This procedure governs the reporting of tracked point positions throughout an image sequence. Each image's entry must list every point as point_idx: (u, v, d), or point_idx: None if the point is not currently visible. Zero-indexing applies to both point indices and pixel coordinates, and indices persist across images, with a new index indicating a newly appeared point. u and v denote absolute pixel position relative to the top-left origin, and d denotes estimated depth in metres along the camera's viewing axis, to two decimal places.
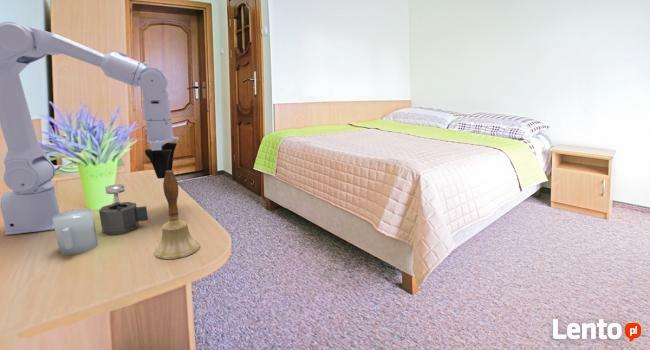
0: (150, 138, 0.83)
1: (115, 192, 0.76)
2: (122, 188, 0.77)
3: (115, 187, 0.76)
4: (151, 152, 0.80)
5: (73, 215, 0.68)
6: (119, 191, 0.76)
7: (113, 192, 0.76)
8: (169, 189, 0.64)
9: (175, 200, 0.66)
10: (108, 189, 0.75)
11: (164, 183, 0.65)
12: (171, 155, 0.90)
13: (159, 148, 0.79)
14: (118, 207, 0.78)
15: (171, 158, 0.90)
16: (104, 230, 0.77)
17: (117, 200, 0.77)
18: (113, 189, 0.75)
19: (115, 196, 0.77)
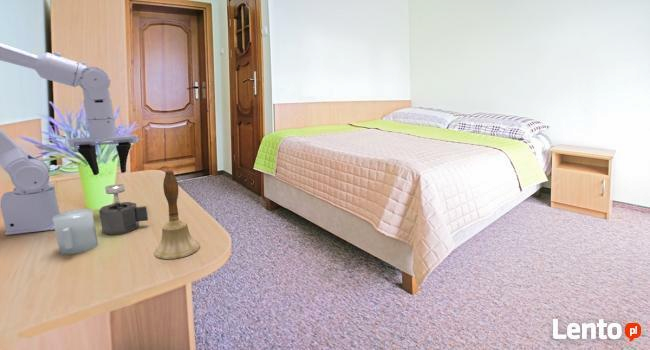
0: None
1: (115, 192, 0.76)
2: (122, 188, 0.77)
3: (115, 187, 0.76)
4: None
5: (73, 215, 0.68)
6: (119, 191, 0.76)
7: (113, 192, 0.76)
8: (169, 189, 0.64)
9: (175, 200, 0.66)
10: (108, 189, 0.75)
11: (164, 183, 0.65)
12: None
13: None
14: (118, 207, 0.78)
15: None
16: (104, 230, 0.77)
17: (117, 200, 0.77)
18: (113, 189, 0.75)
19: (115, 196, 0.77)
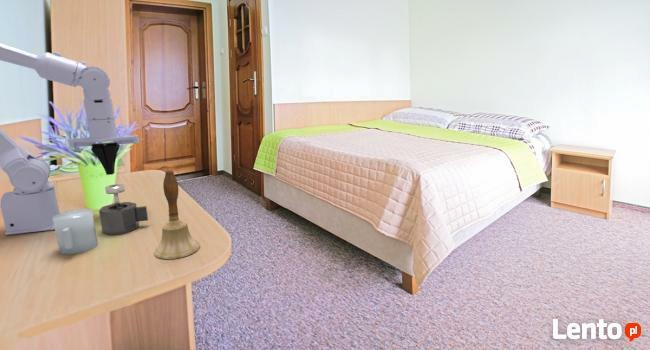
0: None
1: (115, 192, 0.76)
2: (122, 188, 0.77)
3: (115, 187, 0.76)
4: None
5: (73, 215, 0.68)
6: (119, 191, 0.76)
7: (113, 192, 0.76)
8: (169, 189, 0.64)
9: (175, 200, 0.66)
10: (108, 189, 0.75)
11: (164, 183, 0.65)
12: None
13: None
14: (118, 207, 0.78)
15: (107, 161, 0.85)
16: (104, 230, 0.77)
17: (117, 200, 0.77)
18: (113, 189, 0.75)
19: (115, 196, 0.77)
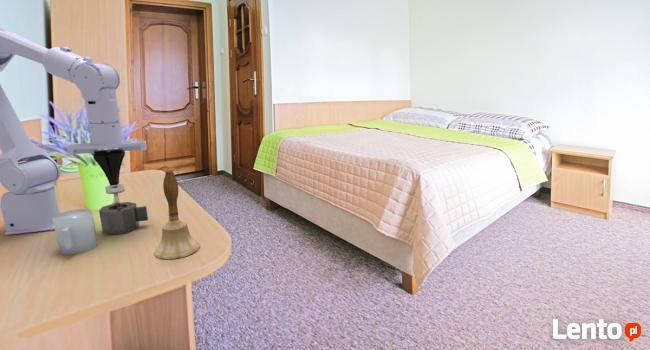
0: None
1: (115, 192, 0.76)
2: (122, 188, 0.77)
3: (115, 187, 0.76)
4: None
5: (73, 215, 0.68)
6: (119, 191, 0.76)
7: (113, 192, 0.76)
8: (169, 189, 0.64)
9: (175, 200, 0.66)
10: (108, 189, 0.75)
11: (164, 183, 0.65)
12: None
13: None
14: (118, 207, 0.78)
15: None
16: (104, 230, 0.77)
17: (117, 200, 0.77)
18: (113, 189, 0.75)
19: (115, 196, 0.77)
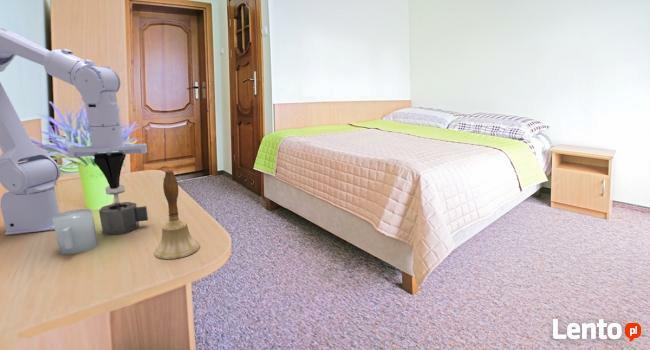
0: None
1: (115, 193, 0.76)
2: (122, 189, 0.77)
3: (115, 188, 0.76)
4: None
5: (73, 215, 0.68)
6: (119, 192, 0.76)
7: (113, 193, 0.76)
8: (169, 189, 0.64)
9: (175, 200, 0.66)
10: (108, 190, 0.75)
11: (164, 183, 0.65)
12: None
13: None
14: (118, 208, 0.78)
15: (112, 173, 0.75)
16: (104, 230, 0.77)
17: (117, 201, 0.77)
18: (113, 190, 0.75)
19: (115, 197, 0.77)
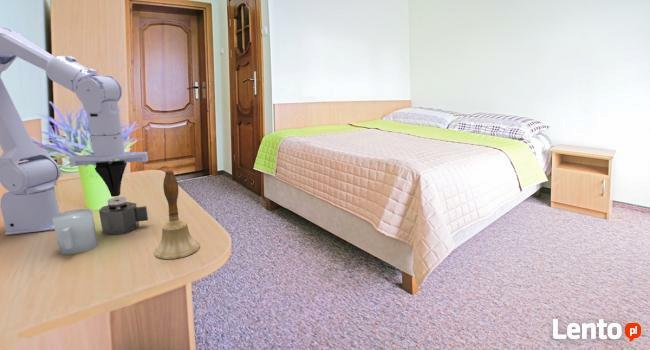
0: None
1: (117, 205, 0.76)
2: (124, 201, 0.78)
3: (117, 200, 0.77)
4: None
5: (73, 215, 0.68)
6: (121, 204, 0.77)
7: (115, 205, 0.76)
8: (169, 189, 0.65)
9: (175, 200, 0.66)
10: (110, 202, 0.76)
11: (164, 183, 0.65)
12: None
13: None
14: None
15: (113, 182, 0.75)
16: (104, 230, 0.77)
17: None
18: (115, 202, 0.76)
19: None
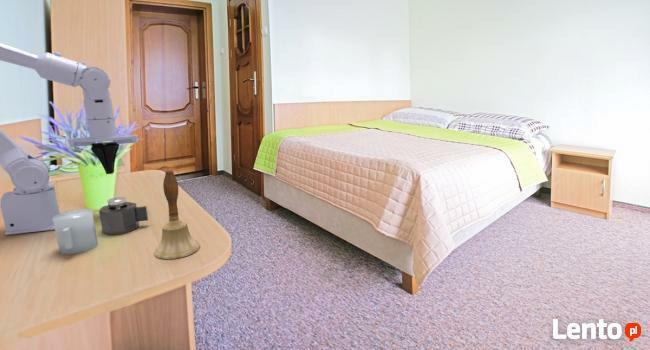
0: None
1: (117, 205, 0.76)
2: (124, 201, 0.78)
3: (117, 200, 0.77)
4: None
5: (73, 215, 0.68)
6: (121, 204, 0.77)
7: (115, 205, 0.76)
8: (169, 189, 0.64)
9: (175, 200, 0.66)
10: (110, 202, 0.76)
11: (164, 183, 0.65)
12: None
13: None
14: None
15: (107, 161, 0.86)
16: (104, 230, 0.77)
17: None
18: (115, 202, 0.76)
19: None
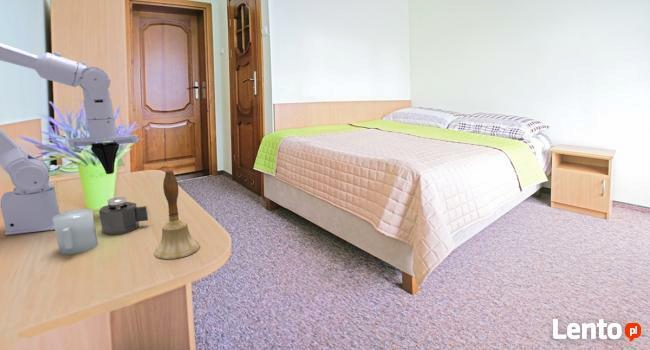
0: None
1: (117, 205, 0.76)
2: (124, 201, 0.78)
3: (117, 200, 0.77)
4: None
5: (73, 215, 0.68)
6: (121, 204, 0.77)
7: (115, 205, 0.76)
8: (169, 189, 0.64)
9: (175, 200, 0.66)
10: (110, 202, 0.76)
11: (164, 183, 0.65)
12: None
13: None
14: None
15: (107, 161, 0.86)
16: (104, 230, 0.77)
17: None
18: (115, 202, 0.76)
19: None
